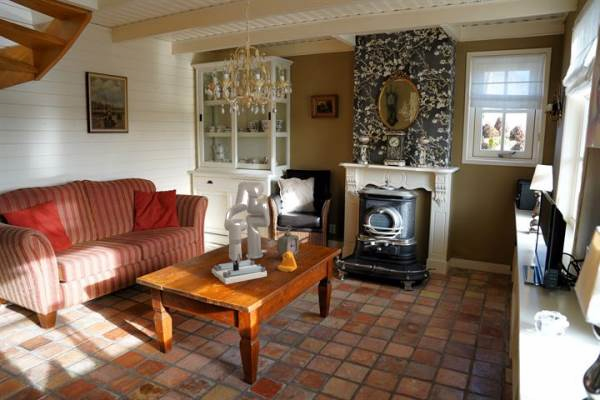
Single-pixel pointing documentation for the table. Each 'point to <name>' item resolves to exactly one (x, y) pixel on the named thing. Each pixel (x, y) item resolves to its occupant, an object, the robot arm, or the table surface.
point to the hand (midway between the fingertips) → (236, 270)
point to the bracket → (288, 262)
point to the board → (229, 278)
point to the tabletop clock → (288, 243)
